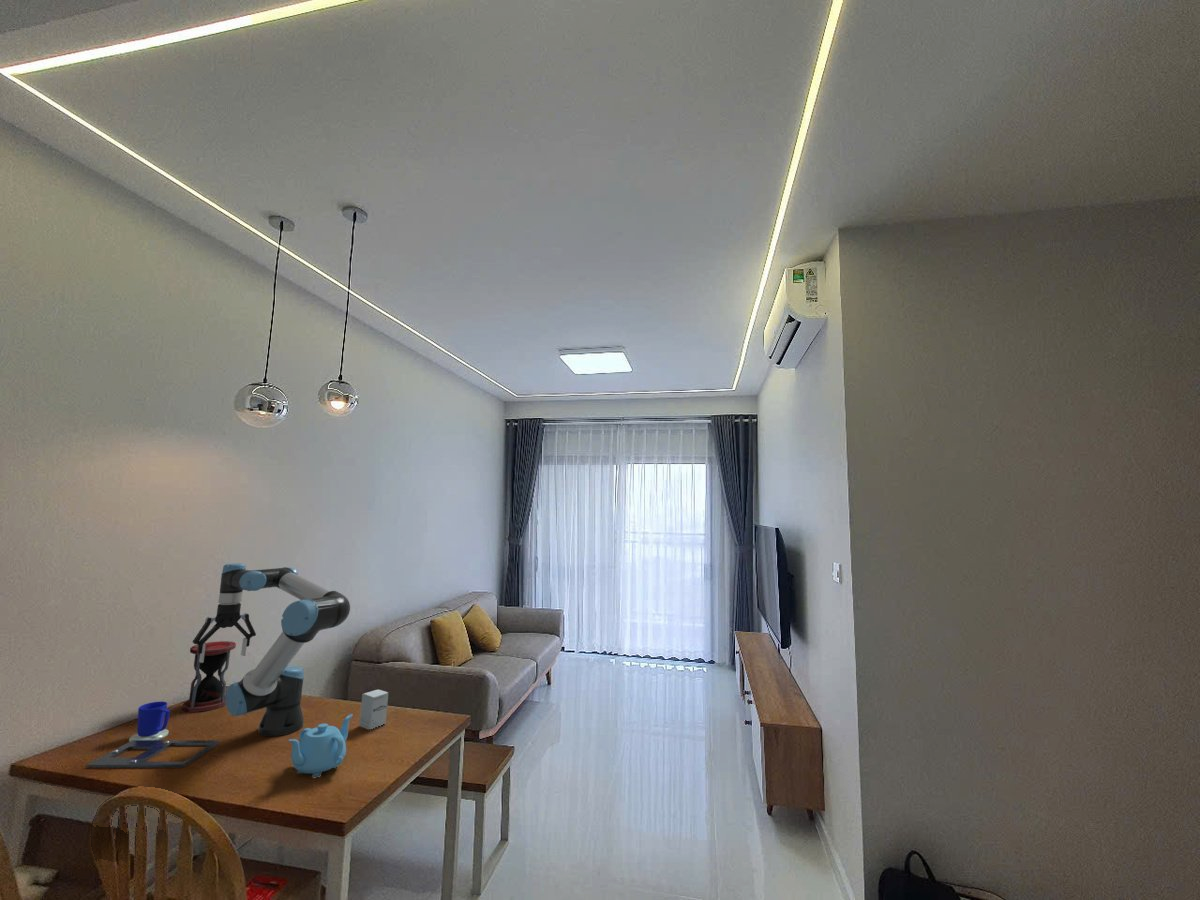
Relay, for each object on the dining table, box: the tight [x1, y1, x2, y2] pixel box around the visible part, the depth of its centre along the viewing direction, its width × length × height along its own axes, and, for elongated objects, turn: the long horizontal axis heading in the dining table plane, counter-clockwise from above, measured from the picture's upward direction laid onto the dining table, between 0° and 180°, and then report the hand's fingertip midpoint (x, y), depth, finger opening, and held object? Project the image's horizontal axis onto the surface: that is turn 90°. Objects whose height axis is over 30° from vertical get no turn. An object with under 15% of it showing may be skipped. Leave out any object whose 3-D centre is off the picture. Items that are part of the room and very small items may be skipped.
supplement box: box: [358, 689, 389, 730], centre depth 204 cm, size 7×7×13 cm
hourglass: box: [181, 640, 237, 713], centre depth 220 cm, size 16×16×25 cm
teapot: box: [287, 713, 354, 777], centre depth 170 cm, size 16×20×14 cm
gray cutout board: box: [85, 739, 221, 769], centre depth 174 cm, size 30×18×1 cm, turn 95°
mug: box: [136, 701, 171, 736], centre depth 188 cm, size 8×12×10 cm
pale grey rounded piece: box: [128, 728, 170, 742], centre depth 187 cm, size 11×11×1 cm
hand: (222, 658), depth 198 cm, fingers open, 13 cm apart
